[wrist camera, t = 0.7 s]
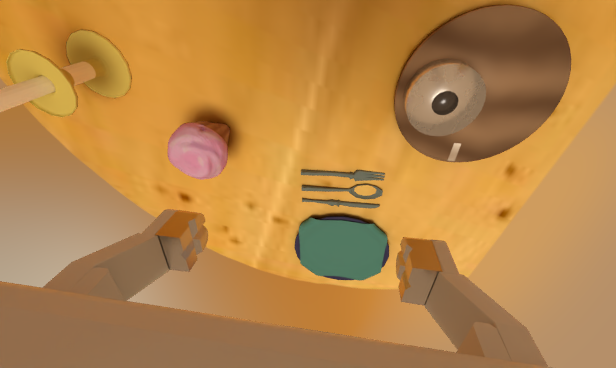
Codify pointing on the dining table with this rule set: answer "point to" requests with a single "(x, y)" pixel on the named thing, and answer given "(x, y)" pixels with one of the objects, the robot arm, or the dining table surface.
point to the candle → (66, 75)
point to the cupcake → (199, 149)
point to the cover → (444, 97)
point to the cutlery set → (342, 236)
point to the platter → (494, 79)
